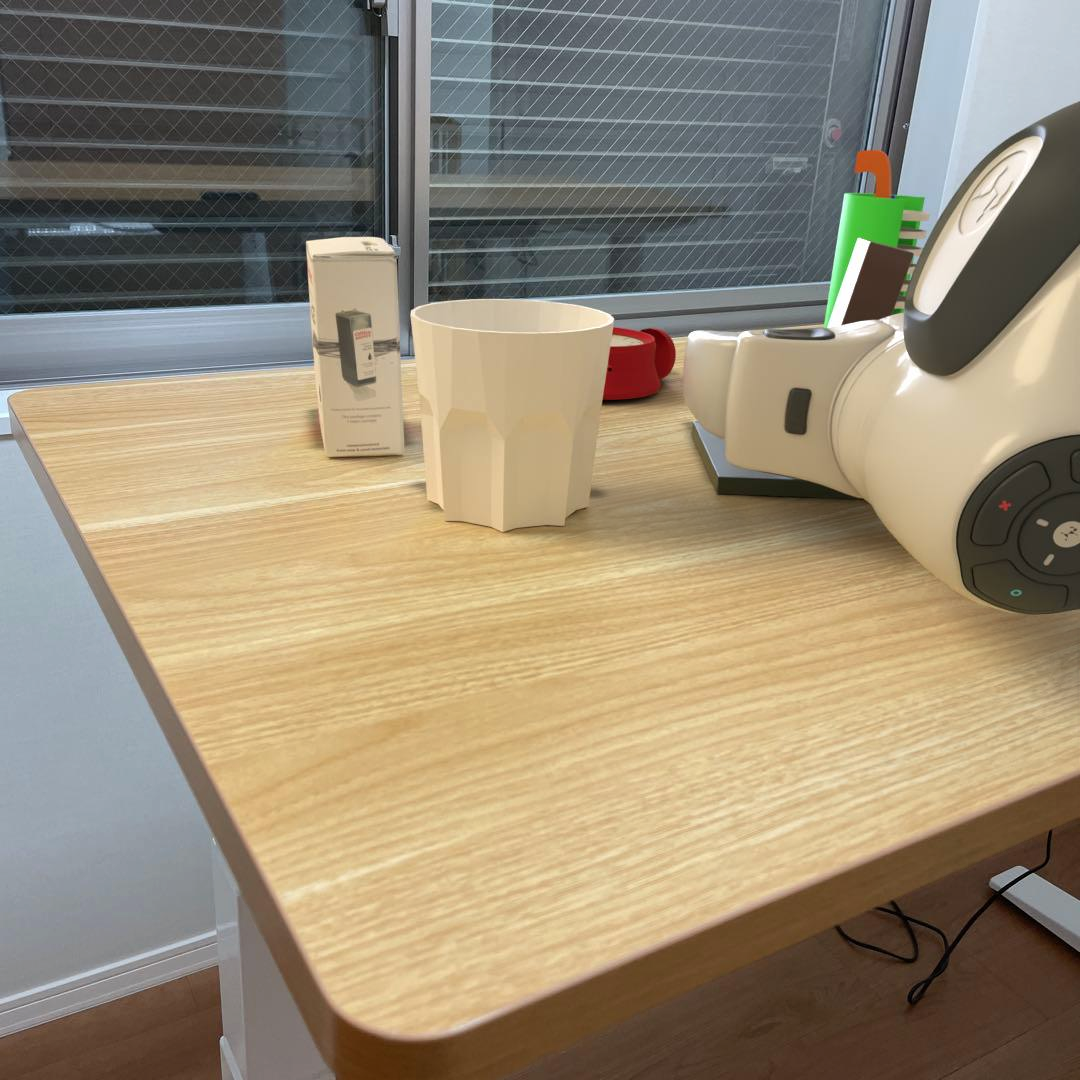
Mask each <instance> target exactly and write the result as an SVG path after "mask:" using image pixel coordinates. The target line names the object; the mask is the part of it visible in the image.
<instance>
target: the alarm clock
mask: <svg viewBox="0 0 1080 1080" xmlns="http://www.w3.org/2000/svg"><path fill="white" fill-rule="evenodd" d="M676 351H677V350H676V346H675V343H674V340H673V338H672V337H671V336H670V335H669V333H667V332H666V331H664V330H663V329H660V328H655V327H648V328H643V329H640V330H635V329H630V328H625V327H616V326H613V331H612V338H611V345H610V352H609V358H608V365H607V372H606V379H605V386H604V392H603V399H602V400H609V401H613V400H628V399H629V400H630V399H638V398H644V397H648V396H652V395H655V394H656V393H658V392H659V391H660V390H661V386H662V383H661V380H663V379H664V378H667V377H668V376H670V374H671V372H672V371H673V368H674V366H675V363H676V359H677V358H676V357H677V354H676V353H677V352H676Z"/></svg>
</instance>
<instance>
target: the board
mask: <svg viewBox="0 0 1080 1080" xmlns="http://www.w3.org/2000/svg"><path fill="white" fill-rule="evenodd" d="M691 423H692V424H691V433H690V435H691V437H692V439H693V442H694V444H695V446H696V448H697V449H696V450H697V451H698V453H699V455H700V458H701V461H702V463H703V465H704V467H705V470H706V471H707V474H708V476H709V479H710V481H711V483H712V485H713V487H714V490H715V493H716V494H717V495H720V494H721V495H742V496H743V495H744V496H745V495H746V496H768V497H770V496H771V497H794V498H817V499H818V498H819V499H820V498H821V499H840V500H841V499H844V500H864V501H866V500H865V499H864V498H858V497H854V496H851V495H848V494H845V493H842V492H840V491H837V490H835V489H832V488H829V487H826V486H824V485H821V484H818V483H814V482H811V481H807V480H800V479H795V478H790V477H786V476H781V475H775V474H769V473H763V472H759V471H756V470H749V469H744V468H739V467H736V466H734V465H732V464H731V463H729V462H728V460H727V459H726V456H725V439H722V438H719V437H717V436H715V435H713V434H711V433H710V432H708V431H707V430H706V429H705V428H704V427H702V425H701V424H700V423H699V422H698V421H697V420H693V421H692V422H691Z"/></svg>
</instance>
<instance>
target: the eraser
mask: <svg viewBox="0 0 1080 1080" xmlns="http://www.w3.org/2000/svg"><path fill="white" fill-rule="evenodd" d="M913 256H914V253H913V252H910V251H907V250H904V249H901V248H897V247H893V246H889V245H886V244H882V243H878V242H874V241H870V240H866V239H862V238H858V239H857V242H856V245H855V248H854V251H853V254H852V257H851V260H850V263H849V266H848V269H847V272H846V274H845V277H844V280H843V283H842V286H841V289H840V292H839V295H838V298H837V301H836V304H835V307H834V309H833V312H832V315H831V318H830V321H829V324H828V327H827V328H829V327H835V326H841V325H846V324H850V323H855V322H860V321H866V320H880V319H882V318H885V317H888V316H891V315H892V313H893V310H894V308H895V305H896V302H897V299H898V297H899V294H900V291H901V289H902V286H903V283H904V280H905V278H906V275H907V272H908V269H909V267H910V264H911V261H912V258H913Z"/></svg>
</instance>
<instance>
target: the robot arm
mask: <svg viewBox="0 0 1080 1080" xmlns="http://www.w3.org/2000/svg"><path fill="white" fill-rule="evenodd" d="M922 248H923V250H922V252H921V254H920V256H918V259H917V261H916V263H915V264H916V266H915V269H914V271H913V274H911V276H910V282H909V285H908V288H907V292H906V296H905V306H904V313H899V314H895V315H891V316H888V317H885V318H882V319H880V320H866V321H860V322H855V323H850V324H846V325H841V326H835V327H829V328H824V327H809V328H807V327H806V328H769V329H763V330H760V329H758V330H757V329H750V330H746V331H742V332H738V331H737V332H736V331H719V330H711V329H710V330H709V329H704V330H703V329H701V330H694V331H692V332H690V333H689V334H688V336H687V338H686V344H685V351H684V359H683V368H682V370H683V371H682V386H681V387H682V388H681V389H682V391H681V392H682V396H683V399H684V402H685V404H686V406H687V407H688V409H689V411H690V412H691V414H692V416H693V417H694V419H695V420H696V421H698V422H699V423H700V424H701V425H702V427H704V428H705V429H706V430H707V431H708V432H710V433H711V434H713V435H715V436H717V437H719V438H722V439H725V456H726V459H727V460H728V462H729V463H731V464H732V465H734V466H736V467H739V468H744V469H749V470H756V471H759V472H763V473H769V474H775V475H781V476H786V477H790V478H795V479H800V480H807V481H811V482H814V483H818V484H821V485H824V486H826V487H829V488H832V489H835V490H837V491H840V492H842V493H845V494H848V495H851V496H854V497H858V498H864V499H865V500H864V499H863V500H864V501H866V502H867V503H868V504H870V505H871V507H872V508H873V510H874V512H875V514H876V516H877V517H878V519H879V520H880V521H881V523H882V524H883V525H884V527H885V528H886V529H887V531H888V532H889V533H890V534H891V535H892V536H893V538H894V539H895V540H897V542H898V543H899V544H900V545H901V546H902V547H903V548H904V549H905V550H906V551H907V552H908V554H910V555H911V556H912V558H914V560H916V561H917V562H918V563H919V564H920V565H921V566H922V567H924V568H925V569H926V570H927V571H928V572H929V573H930V574H932V575H933V576H934V577H935V578H936V579H937V580H938V581H940V582H942V583H943V584H944V585H945V586H947V587H948V588H950V589H951V590H953V591H954V592H956V593H957V594H959V595H961V596H963V597H964V598H965V599H968V600H970V601H972V602H973V603H976V604H978V605H981V606H985V607H987V608H990V609H994V610H997V611H1001V612H1006V613H1011V614H1019V615H1028V616H1031V615H1032V616H1034V615H1035V616H1047V615H1056V614H1057V615H1058V614H1064V613H1070V612H1075V611H1080V100H1079V101H1076V102H1073V103H1071V104H1069V105H1067V106H1065V107H1062V108H1060V109H1058V110H1056V111H1055V112H1053V113H1050V114H1048V115H1047V116H1044V117H1042V118H1040V119H1039V120H1036V121H1035V122H1033V123H1031V124H1030V125H1028V126H1026V127H1024V128H1023V129H1020V130H1019V131H1018V132H1016V133H1014V134H1012V135H1010V136H1009V137H1008V138H1006V139H1005V140H1004V141H1002V142H1001V143H999V144H998V145H997V146H996V147H994V149H992V150H991V151H990V152H989V153H988V154H986V155H985V156H984V157H983V158H982V160H980V162H978V164H977V165H976V166H975V167H974V168H973V169H972V170H971V171H970V173H968V175H967V177H966V178H965V179H964V180H963V182H961V184H960V186H959V187H958V188H957V190H956V191H955V192H954V194H953V196H952V197H951V199H950V200H949V202H947V205H946V206H945V208H944V209H943V211H942V212H941V214H940V216H939V217H938V219H937V221H936V222H935V224H934V226H933V228H932V230H931V232H930V234H929V236H928V238H927V239H926V242H925V244H924V246H923V247H922Z"/></svg>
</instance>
